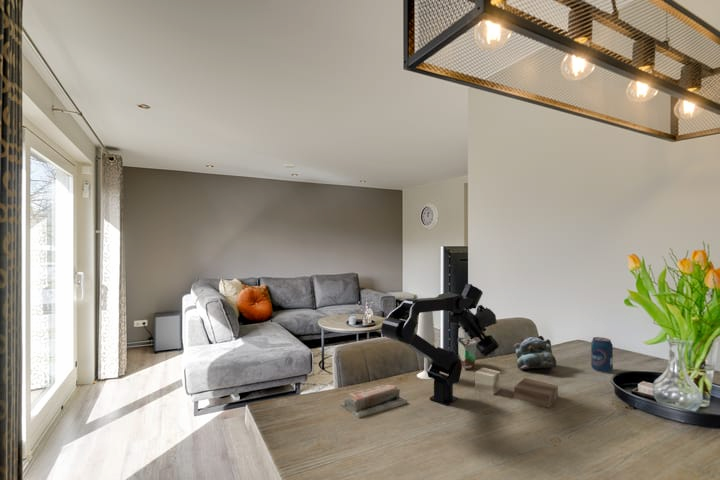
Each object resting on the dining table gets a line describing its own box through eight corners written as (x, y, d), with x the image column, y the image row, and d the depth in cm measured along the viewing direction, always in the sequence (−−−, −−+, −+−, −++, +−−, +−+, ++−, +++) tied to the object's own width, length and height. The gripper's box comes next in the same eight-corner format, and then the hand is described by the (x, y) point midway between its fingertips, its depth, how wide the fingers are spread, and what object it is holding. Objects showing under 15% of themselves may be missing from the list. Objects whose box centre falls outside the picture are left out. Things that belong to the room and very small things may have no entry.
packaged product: (358, 402, 101) (340, 390, 109) (358, 420, 101) (340, 407, 109) (407, 388, 111) (387, 378, 119) (407, 404, 111) (387, 393, 119)
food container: (482, 371, 138) (481, 345, 138) (465, 371, 138) (465, 345, 138) (472, 361, 150) (472, 337, 151) (457, 361, 151) (457, 337, 151)
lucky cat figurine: (511, 369, 140) (506, 333, 147) (523, 374, 148) (518, 340, 155) (552, 366, 131) (545, 328, 138) (563, 372, 139) (555, 335, 145)
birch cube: (493, 395, 117) (492, 376, 117) (475, 390, 121) (475, 372, 121) (500, 389, 121) (500, 371, 121) (482, 385, 125) (482, 367, 125)
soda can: (587, 369, 141) (587, 338, 141) (596, 366, 145) (596, 335, 145) (607, 374, 135) (607, 342, 135) (616, 371, 139) (615, 339, 139)
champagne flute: (435, 379, 130) (435, 312, 130) (416, 378, 131) (416, 312, 131) (434, 373, 136) (434, 309, 137) (416, 372, 137) (416, 308, 138)
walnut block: (549, 409, 107) (549, 395, 107) (514, 399, 114) (514, 386, 114) (557, 398, 115) (557, 385, 115) (524, 389, 122) (524, 378, 122)
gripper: (501, 322, 111) (521, 349, 118) (471, 290, 128) (490, 315, 135) (472, 343, 112) (494, 369, 119) (446, 309, 129) (467, 333, 136)
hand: (486, 345), depth 127 cm, fingers open, 9 cm apart
